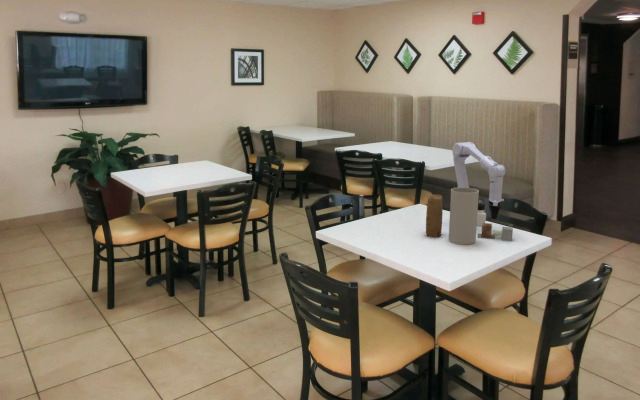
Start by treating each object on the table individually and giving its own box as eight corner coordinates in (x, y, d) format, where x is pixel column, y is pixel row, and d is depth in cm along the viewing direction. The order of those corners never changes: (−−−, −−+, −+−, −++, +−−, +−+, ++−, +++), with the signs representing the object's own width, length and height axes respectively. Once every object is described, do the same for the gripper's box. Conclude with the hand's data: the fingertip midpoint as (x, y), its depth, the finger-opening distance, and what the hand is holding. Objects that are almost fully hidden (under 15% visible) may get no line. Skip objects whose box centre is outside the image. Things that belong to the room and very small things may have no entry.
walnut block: (481, 237, 261) (482, 225, 260) (481, 234, 266) (482, 223, 264) (490, 238, 260) (491, 226, 259) (490, 235, 264) (491, 223, 263)
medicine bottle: (482, 223, 288) (484, 202, 285) (484, 227, 281) (487, 205, 278) (468, 222, 289) (471, 201, 286) (470, 226, 282) (473, 204, 279)
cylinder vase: (456, 246, 248) (459, 193, 243) (443, 238, 260) (446, 188, 255) (480, 244, 252) (484, 192, 246) (466, 236, 263) (469, 186, 258)
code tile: (477, 238, 260) (477, 237, 260) (477, 234, 268) (477, 233, 268) (494, 239, 258) (494, 239, 258) (494, 235, 265) (494, 234, 265)
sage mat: (493, 235, 266) (493, 234, 266) (492, 231, 273) (493, 230, 273) (508, 236, 264) (509, 235, 264) (508, 232, 271) (508, 231, 271)
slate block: (501, 241, 256) (502, 229, 255) (501, 238, 261) (502, 226, 259) (511, 241, 255) (512, 229, 254) (511, 239, 259) (512, 227, 258)
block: (440, 238, 261) (442, 198, 257) (424, 236, 263) (426, 197, 259) (442, 232, 271) (444, 193, 267) (427, 231, 273) (429, 192, 269)
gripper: (505, 193, 252) (503, 221, 255) (503, 187, 265) (501, 214, 268) (489, 192, 254) (487, 220, 257) (488, 186, 267) (487, 213, 270)
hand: (493, 217), depth 263 cm, fingers open, 7 cm apart
